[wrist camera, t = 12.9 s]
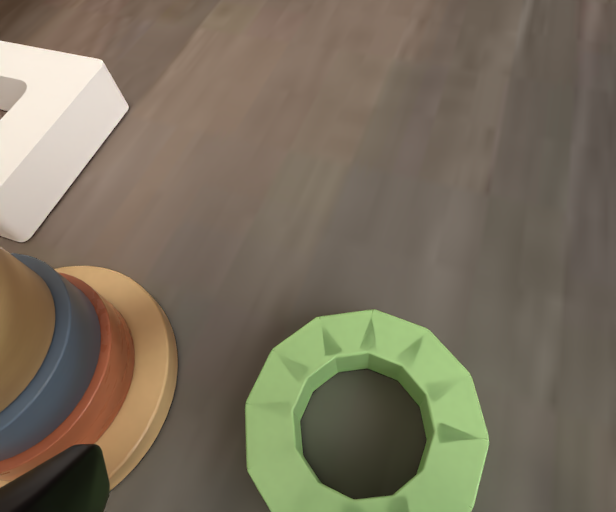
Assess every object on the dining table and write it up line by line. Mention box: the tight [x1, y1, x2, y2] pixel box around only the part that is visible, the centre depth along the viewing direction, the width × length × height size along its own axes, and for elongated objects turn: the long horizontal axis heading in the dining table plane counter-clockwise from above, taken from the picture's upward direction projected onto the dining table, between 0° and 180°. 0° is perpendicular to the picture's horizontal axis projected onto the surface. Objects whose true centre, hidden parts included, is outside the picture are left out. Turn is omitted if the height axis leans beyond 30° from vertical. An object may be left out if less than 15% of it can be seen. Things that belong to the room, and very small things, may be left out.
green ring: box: [245, 309, 489, 512], centre depth 14 cm, size 7×7×2 cm
